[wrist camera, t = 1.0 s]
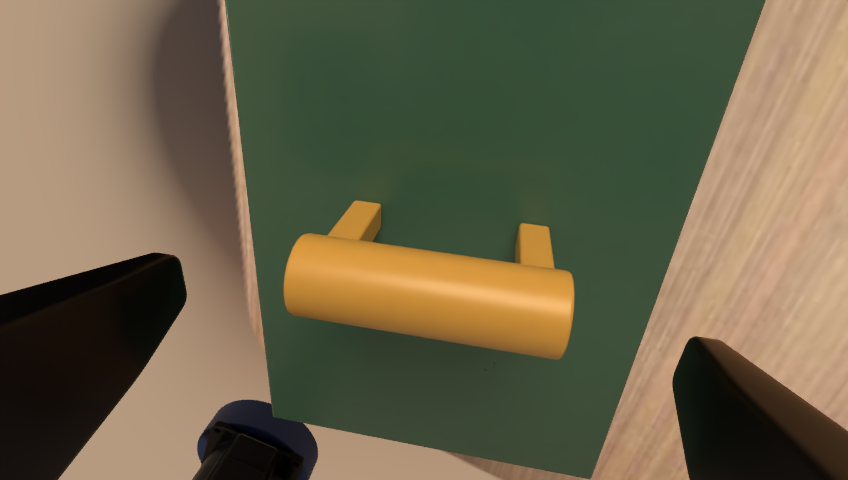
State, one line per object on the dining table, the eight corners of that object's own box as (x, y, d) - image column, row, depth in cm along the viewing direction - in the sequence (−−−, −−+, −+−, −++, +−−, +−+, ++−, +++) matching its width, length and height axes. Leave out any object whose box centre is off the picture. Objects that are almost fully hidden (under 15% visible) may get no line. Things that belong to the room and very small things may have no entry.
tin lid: (588, 460, 15) (612, 624, 11) (281, 401, 16) (206, 530, 13) (795, -131, 8) (1064, -251, 4) (225, -156, 9) (9, -265, 5)
